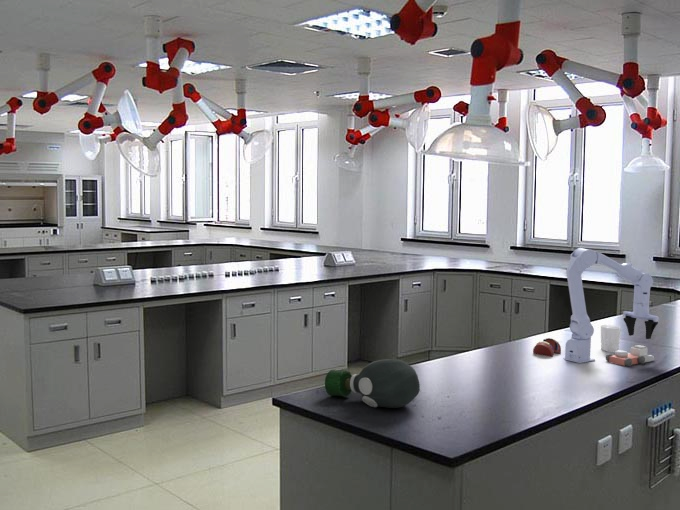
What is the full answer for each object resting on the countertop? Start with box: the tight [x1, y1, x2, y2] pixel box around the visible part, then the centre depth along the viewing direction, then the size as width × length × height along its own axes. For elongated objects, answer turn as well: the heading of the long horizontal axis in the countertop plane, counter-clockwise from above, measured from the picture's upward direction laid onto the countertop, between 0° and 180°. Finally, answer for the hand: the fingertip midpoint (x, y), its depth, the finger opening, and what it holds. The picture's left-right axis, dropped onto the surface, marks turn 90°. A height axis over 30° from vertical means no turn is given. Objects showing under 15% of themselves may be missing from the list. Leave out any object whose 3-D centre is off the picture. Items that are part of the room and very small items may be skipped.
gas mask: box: [324, 358, 421, 409], centre depth 213 cm, size 14×18×30 cm
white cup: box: [600, 324, 622, 353], centre depth 290 cm, size 8×8×10 cm
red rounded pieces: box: [532, 337, 562, 357], centre depth 283 cm, size 8×6×12 cm
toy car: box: [605, 349, 655, 367], centre depth 270 cm, size 18×10×4 cm, turn 122°
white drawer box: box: [629, 344, 649, 356], centre depth 273 cm, size 5×4×6 cm
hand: (639, 337), depth 272 cm, fingers open, 7 cm apart
